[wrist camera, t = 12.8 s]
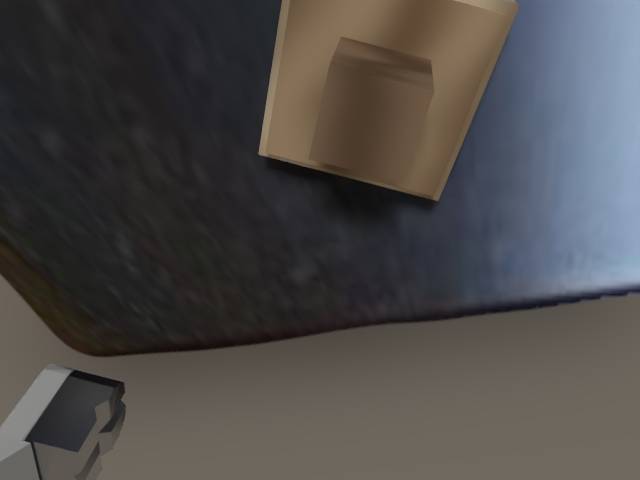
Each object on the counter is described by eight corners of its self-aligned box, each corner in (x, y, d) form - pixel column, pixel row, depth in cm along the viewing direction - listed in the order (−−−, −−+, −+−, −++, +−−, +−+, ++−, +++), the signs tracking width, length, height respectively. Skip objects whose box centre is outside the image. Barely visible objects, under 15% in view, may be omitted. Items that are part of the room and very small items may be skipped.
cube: (430, 60, 27) (434, 91, 23) (402, 142, 30) (401, 183, 26) (341, 36, 27) (329, 64, 23) (321, 121, 30) (308, 158, 26)
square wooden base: (513, -2, 27) (521, 8, 25) (436, 185, 35) (438, 205, 33) (297, -59, 27) (288, -53, 25) (265, 141, 34) (256, 157, 32)
